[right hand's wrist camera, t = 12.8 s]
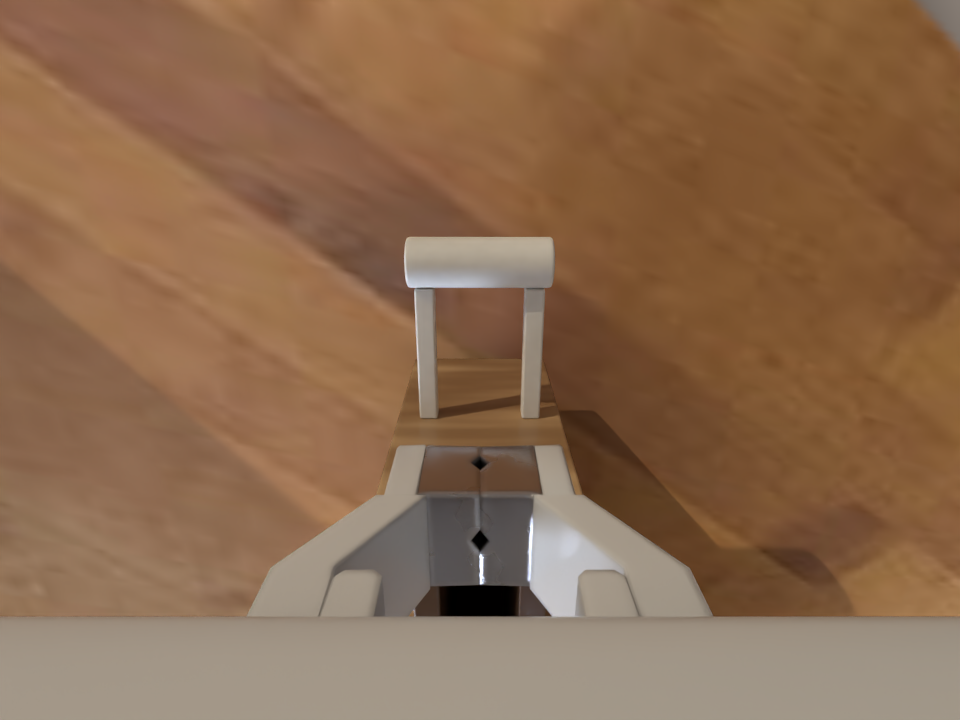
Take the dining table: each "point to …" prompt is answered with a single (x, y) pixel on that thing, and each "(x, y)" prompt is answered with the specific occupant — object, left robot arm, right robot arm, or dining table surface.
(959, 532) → the dining table surface
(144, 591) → the dining table surface
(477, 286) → the drawer
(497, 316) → the dining table surface
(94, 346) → the dining table surface
